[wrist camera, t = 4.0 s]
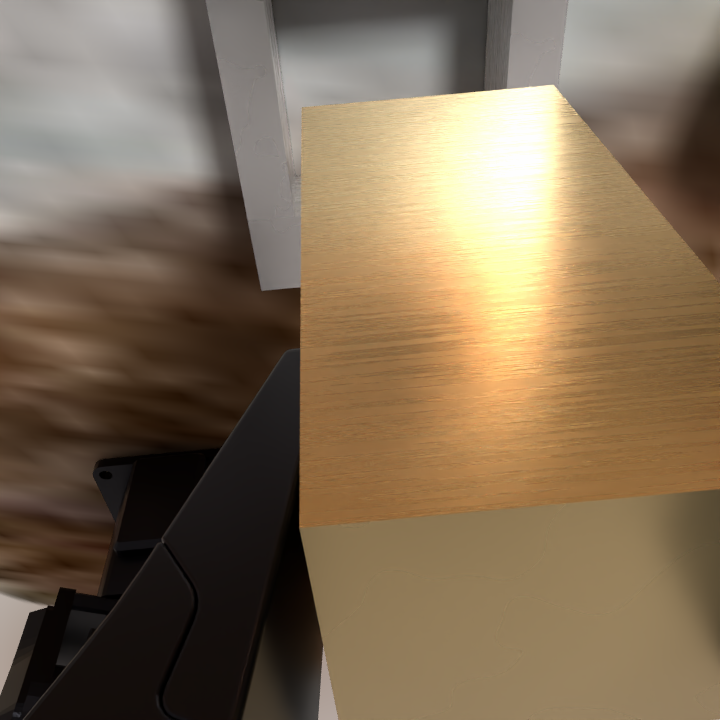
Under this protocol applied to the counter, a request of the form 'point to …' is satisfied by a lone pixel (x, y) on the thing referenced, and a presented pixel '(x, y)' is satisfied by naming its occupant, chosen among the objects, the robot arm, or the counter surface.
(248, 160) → the rail bar
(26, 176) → the counter surface
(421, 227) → the brass peg
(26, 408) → the counter surface
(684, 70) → the counter surface
